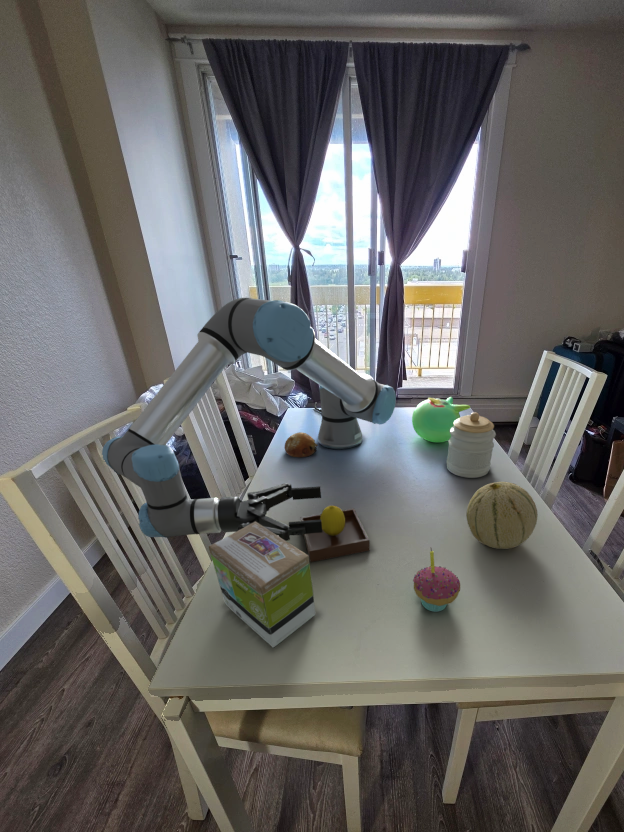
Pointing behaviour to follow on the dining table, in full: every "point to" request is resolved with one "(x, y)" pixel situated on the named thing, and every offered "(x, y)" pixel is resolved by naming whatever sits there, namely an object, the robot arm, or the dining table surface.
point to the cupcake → (436, 586)
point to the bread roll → (300, 445)
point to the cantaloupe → (501, 515)
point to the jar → (470, 446)
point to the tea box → (264, 581)
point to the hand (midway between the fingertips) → (321, 508)
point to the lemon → (332, 520)
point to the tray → (337, 539)
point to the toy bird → (436, 418)
